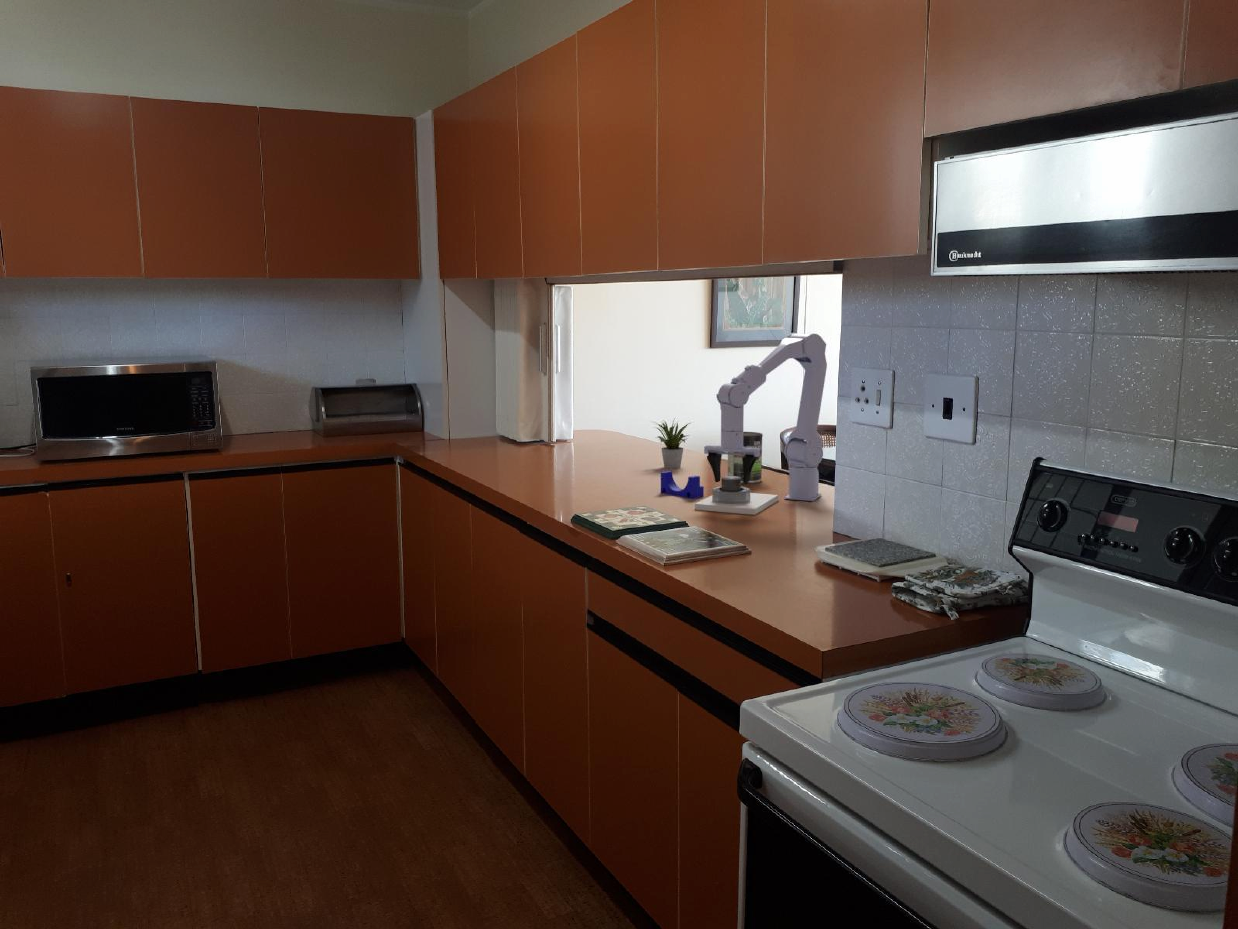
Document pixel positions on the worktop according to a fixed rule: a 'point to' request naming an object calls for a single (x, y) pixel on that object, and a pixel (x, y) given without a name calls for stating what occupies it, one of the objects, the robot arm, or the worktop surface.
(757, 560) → the worktop surface
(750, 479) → the coffee can
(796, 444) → the robot arm
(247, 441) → the worktop surface
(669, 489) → the blue u-shaped cradle block
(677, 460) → the house plant
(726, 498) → the socket board
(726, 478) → the dark gray cylinder
